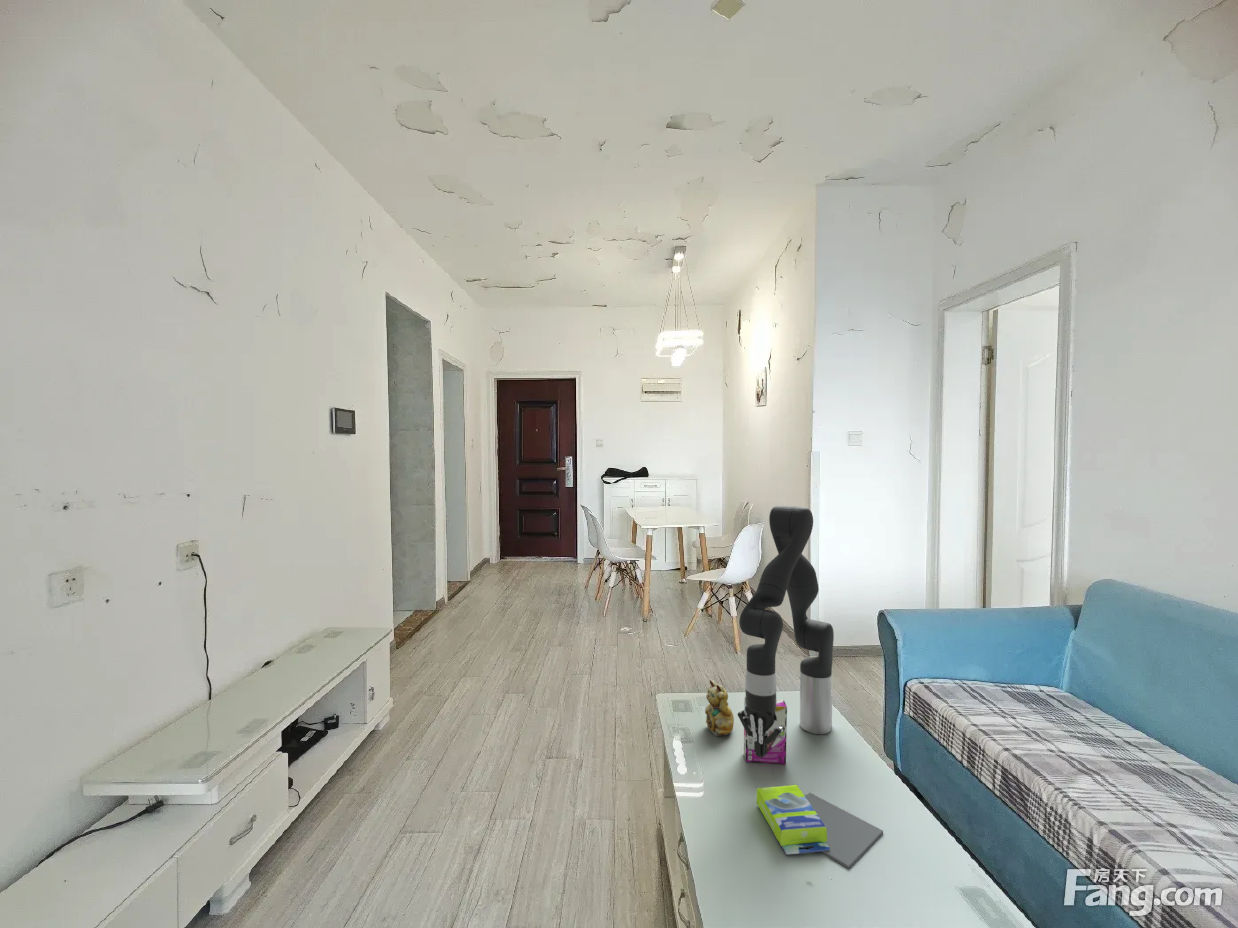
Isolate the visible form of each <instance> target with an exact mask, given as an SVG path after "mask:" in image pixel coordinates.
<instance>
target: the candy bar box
mask: <svg viewBox="0 0 1238 928" xmlns="http://www.w3.org/2000/svg"><path fill="white" fill-rule="evenodd" d="M743 704H744V706H743V708H744V709H743V710H745V707H746V703H745V699H744V703H743ZM775 714H776V717H777V722H778V723H779V725H780V726H784V727H785V730H784V731H783V732H782V733H781V734H780V735H779V736H778V737H777V738H776V739H775V740H774V741H773V742H771V743H770V744H767V754H766V755H765V756H764V757H762V758H760V757H758V756H756V753H755V751H754V740H753V737H751V736H748V734H747V732H746V731H745V729H744V728H743V756H744V760H745V762H746V763H758V764H759V763H761V764H777V765H786V763H787V736H788V735H787V726H788V723H787V722H788V720H787V719H788V706H787V704H786V701H785V699H783V698H776V710H775ZM748 726H749V725H748ZM749 728H750V727H749ZM750 730H751V729H750ZM772 730H773V725H772V727H771V728H770V732H769V735H771V734H772V733H773V731H772ZM769 735H768V736H769Z"/></svg>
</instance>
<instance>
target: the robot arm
mask: <svg viewBox="0 0 1238 928" xmlns="http://www.w3.org/2000/svg"><path fill="white" fill-rule="evenodd" d="M768 517H769V519H768V522H769V528H770V529H769V530H770V534H771V535H772V538H773V542H774V545H775V548H776V550H777V554H778V555H776V556H775V557H774V558H773V559H771V561H769V562H768V563H767V565H766V566H765V567H764V569H763V572H762V573H761V576H760V579H759V581H758V584H757V588H756V590H755V592H754V594H753V595H752V596H751V598H750V600H749V601H748V602H747V603H746V605H745V606H744V607H743V609H742V611H741V613H740V616H739V620H738V621H739V622H738V624H739V625H738V626H739V628H740V631H741V632H742V633H743V634H745V635H747V636H749V637H755V638H761V639H764V643H756V644H755V643H754V644H752V645H749V646H748V647H747V649H746V673H745V696H744V700H745V703H746V707H745V710H744V709H743V710H741V711H739V712H737V717H738V718H739V721H740V723H741V725H742V727H743V730H744V729H745V731H746V732H747V734H748V736H751V737H753V740H754V751H755V753H756V756H758V757H760V758H762V757H764V756H765V755H766V754H767V744H770V743H771V742H773V741H774V740H775V739H776V738H777V737H778V736H779V735H780V734H781V733H782V732H783V731H784V730H785V727H784V726H780V725H779V723H778V722H777V717H776V714H775V710H776V699H777V676H776V654H777V651H778V645H779V641H780V638H781V636H782V632H783V629H784V622H783V619H782V616H781V615H780V614H779V613H778V612H777V611H774V610H768V609H767V608H776V607H779V606H781V605H782V604H783V601H784V599H785V596H786V593H787V596H788V600H789V601H788V602H789V605H790V610H791V617H792V625H793V626H792V627H793V634H794V639H795V642H796V645H797V646H798V647H799V648H801V649H803V650H807V651H812V652H816V653H818V656H814V657H807V658H804V659H803V660H801V662H800V665H799V666H800V668H799V681H800V682H799V726H800V728H801V729H802V730H804V731H806V732H807V733H810V734H814V735H827V734H829V733H831V731H832V726H833V696H832V691H833V690H832V688H833V687H832V681H833V678H832V677H833V675H832V671H833V670H832V669H833V652H834V650H833V649H834V640H835V639H834V637H835V636H834V635H835V634H834V633H835V632H834V628H833V627H834V626H833V625H832V624H831V623H829V622H826V621H821V620H816V619H810V618H808V615H807V612H808V609H809V608H810V607H811V606H812V604H813V603H814V601H815V600H816V598H817V596H818V594H819V589H820V588H819V582H818V577H817V573H816V572H817V571H816V570H815V567H814V566H813V565H812V563H811V562H810V561H809V560H808V558H806V556H805V555H804V554H803V551H804V549H805V547H806V546H807V544H808V542H809V539H810V536H811V534H812V531H813V527H814V516H813V513H812V511H811V509H810V508H808V507H804V506H794V505H776V506H773V507H772V508H771V509H770V512H769V516H768ZM748 725H749V726H748ZM772 725H773V730H772V731H773V733H772V734H771V735H769V732H770V728H771V727H772ZM749 727H750V728H749ZM750 729H751V730H750ZM768 735H769V736H768Z"/></svg>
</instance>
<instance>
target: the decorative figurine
mask: <svg viewBox="0 0 1238 928" xmlns="http://www.w3.org/2000/svg"><path fill="white" fill-rule="evenodd" d="M709 684H710V687H709V688H708V689H707V692H706V695H705V698H706V700H707V703H708V704H707V705H706V707H705V710H704V713H705V715H706V718H705V719H706V721H705V723H706V725H707V728H708V730H709V731H710V732H711V733H712V734H713V735H714V736H715V737H718V736H724V737H725V736H729V735H731V733H732V732H733V730H734V724H735V723H734V722H735V721H734V720H735V718H734V713H733V711H732V709H731V708H730V706H729V702H728V700H729V699H728V698H729V695H728V692H727V690H726V688H724V686H722V685H721V684H717V682H716V681H714V680H713V679H709Z"/></svg>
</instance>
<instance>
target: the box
mask: <svg viewBox="0 0 1238 928" xmlns="http://www.w3.org/2000/svg"><path fill="white" fill-rule="evenodd" d="M805 796H806V795H805V794H804V793H803V791H802V790H801V789H800V787H799V786H798V784H794V785H793V784H792V785H781V786H770V787H757V788H756V804H757V806H758V808H759V810H760V811H761V813H762V815H763V817H764V819H765V820H766V822H767V824H768V826H769V827H770V828H771V830H772V833H773V835H774V836H775V838H776V840H777V841H778V843H779V845H780V846H781V847H782V850H783V851H784V853H785V855H786V856H787V855H797V854H798V855H799V854H807V853H808V854H809V853H817V852H820V851H828V850H830V848H829V847H828V845H827V844H826V841H827V828H826V826H825V824H824V823H823V822H822V820H821V819H820V817H819V816H818V814H817V813H816V812H815V810H814V809H813V807H812V806H811V804H810V803H809V801H808V800H807V799H806V797H805ZM806 848H808V849H806Z"/></svg>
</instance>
